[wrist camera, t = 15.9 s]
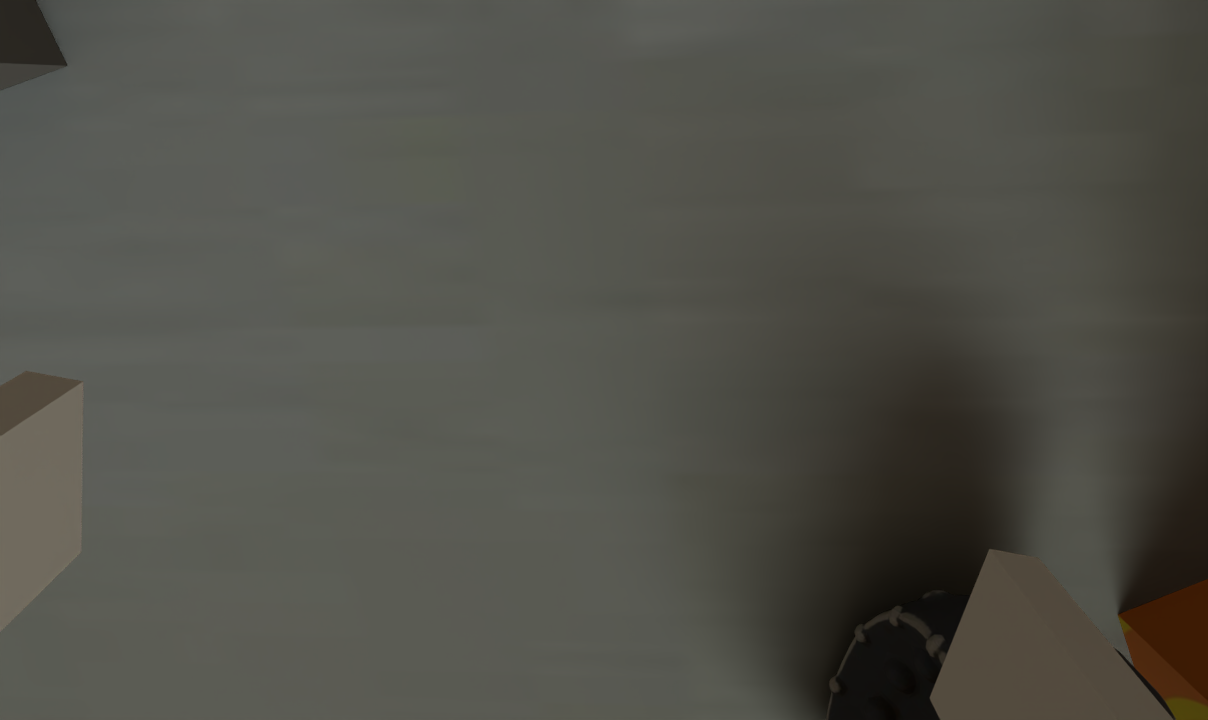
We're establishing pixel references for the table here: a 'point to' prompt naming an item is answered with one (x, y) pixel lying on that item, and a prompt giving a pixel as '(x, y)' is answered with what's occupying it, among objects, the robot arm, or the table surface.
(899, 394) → the table surface
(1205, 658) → the box
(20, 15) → the stand
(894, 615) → the studded black puck
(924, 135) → the table surface
